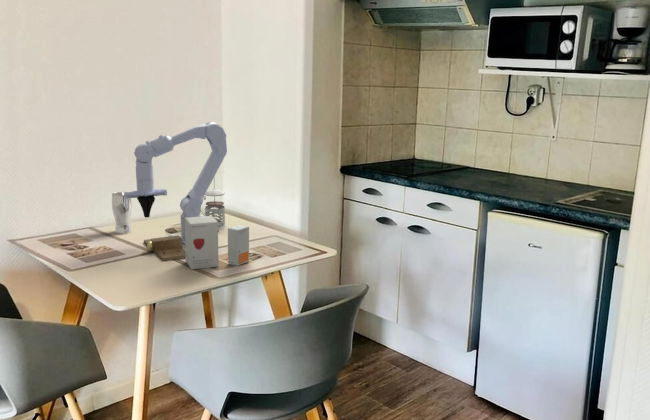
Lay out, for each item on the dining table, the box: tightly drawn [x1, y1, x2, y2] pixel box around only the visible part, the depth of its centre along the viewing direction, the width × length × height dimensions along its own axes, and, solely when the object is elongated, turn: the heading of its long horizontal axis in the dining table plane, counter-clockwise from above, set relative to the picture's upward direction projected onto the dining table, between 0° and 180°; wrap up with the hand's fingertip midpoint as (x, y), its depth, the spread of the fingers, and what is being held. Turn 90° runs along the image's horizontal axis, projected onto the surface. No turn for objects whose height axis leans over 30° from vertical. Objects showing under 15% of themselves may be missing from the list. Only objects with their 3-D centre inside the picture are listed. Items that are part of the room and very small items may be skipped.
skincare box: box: [227, 224, 250, 267], centre depth 192 cm, size 6×4×12 cm
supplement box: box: [184, 215, 220, 270], centre depth 189 cm, size 9×9×15 cm
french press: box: [200, 181, 228, 231], centre depth 234 cm, size 10×12×25 cm
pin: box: [146, 241, 154, 253], centre depth 205 cm, size 10×4×4 cm, turn 121°
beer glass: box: [111, 191, 133, 235], centre depth 225 cm, size 7×7×15 cm
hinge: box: [143, 234, 186, 262], centre depth 205 cm, size 10×24×4 cm, turn 31°
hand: (146, 216), depth 210 cm, fingers closed
